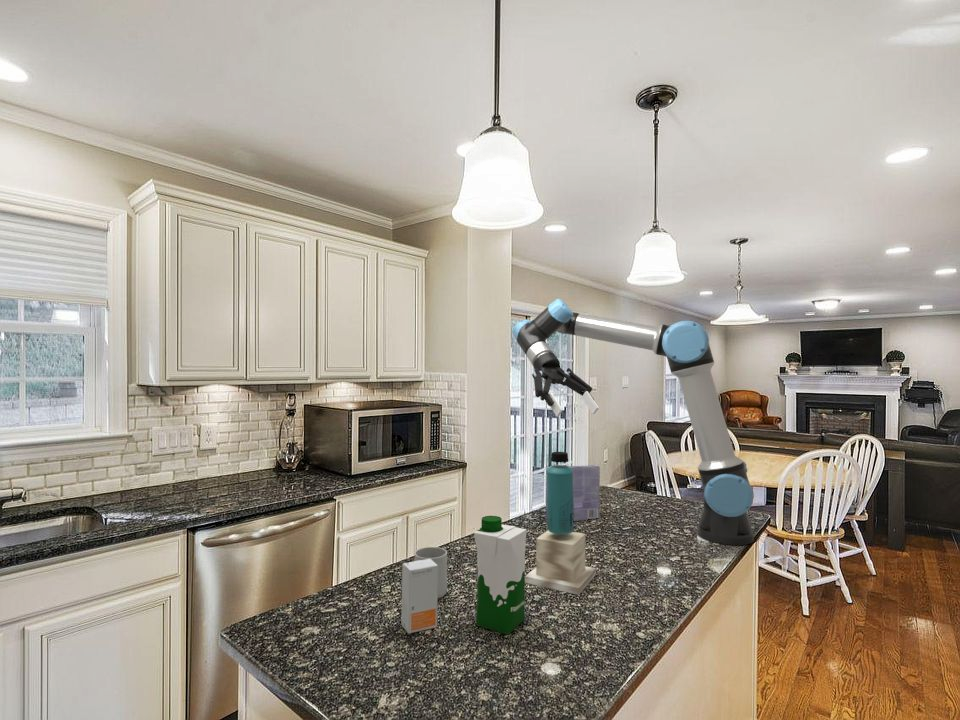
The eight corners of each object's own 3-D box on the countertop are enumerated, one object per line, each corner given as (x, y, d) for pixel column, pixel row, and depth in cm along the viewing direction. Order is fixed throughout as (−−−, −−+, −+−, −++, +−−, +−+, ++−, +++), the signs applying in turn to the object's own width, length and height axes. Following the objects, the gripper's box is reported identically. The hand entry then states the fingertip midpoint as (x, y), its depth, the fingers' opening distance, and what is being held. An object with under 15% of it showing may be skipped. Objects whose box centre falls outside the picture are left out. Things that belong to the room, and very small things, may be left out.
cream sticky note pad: (596, 574, 124) (595, 532, 125) (579, 594, 113) (579, 549, 113) (545, 564, 131) (545, 524, 131) (525, 582, 119) (525, 539, 119)
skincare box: (408, 635, 96) (408, 570, 96) (400, 625, 99) (401, 562, 100) (438, 627, 98) (438, 564, 99) (430, 618, 102) (430, 557, 103)
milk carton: (492, 608, 107) (492, 511, 107) (531, 619, 102) (531, 518, 102) (469, 625, 99) (469, 522, 100) (510, 639, 94) (510, 529, 95)
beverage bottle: (574, 541, 118) (573, 454, 118) (545, 539, 119) (544, 453, 120) (574, 532, 124) (574, 450, 125) (546, 531, 126) (546, 449, 126)
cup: (453, 593, 114) (453, 552, 114) (417, 607, 107) (417, 564, 107) (433, 583, 119) (433, 544, 119) (397, 596, 112) (397, 555, 112)
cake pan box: (595, 515, 176) (595, 463, 176) (603, 519, 171) (603, 465, 171) (544, 520, 169) (544, 466, 170) (551, 524, 165) (551, 469, 165)
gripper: (568, 368, 166) (603, 418, 153) (505, 369, 153) (537, 423, 140) (579, 351, 162) (616, 401, 149) (515, 350, 148) (550, 405, 135)
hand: (578, 412), depth 144 cm, fingers open, 13 cm apart
